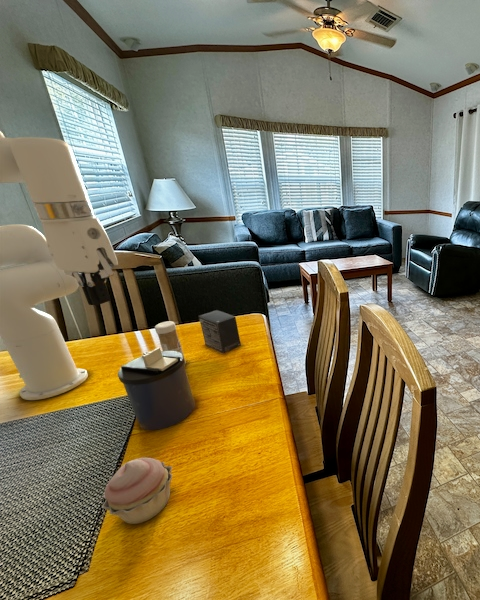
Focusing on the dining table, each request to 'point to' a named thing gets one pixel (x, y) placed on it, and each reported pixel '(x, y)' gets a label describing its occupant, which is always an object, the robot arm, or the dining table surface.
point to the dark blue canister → (158, 392)
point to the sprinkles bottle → (169, 337)
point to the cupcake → (138, 490)
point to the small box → (220, 331)
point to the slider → (157, 360)
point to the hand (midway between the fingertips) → (100, 302)
